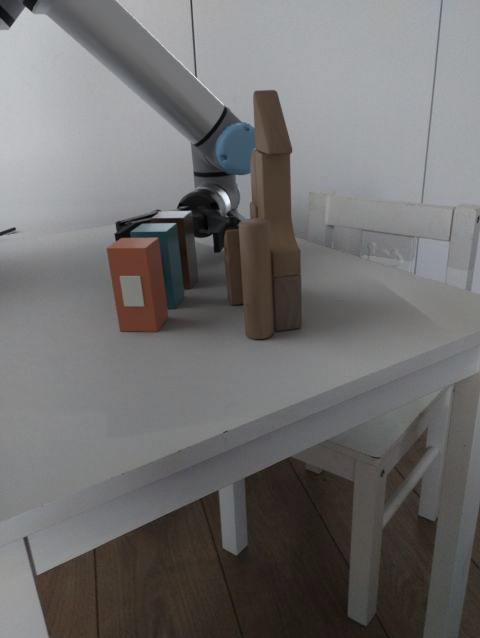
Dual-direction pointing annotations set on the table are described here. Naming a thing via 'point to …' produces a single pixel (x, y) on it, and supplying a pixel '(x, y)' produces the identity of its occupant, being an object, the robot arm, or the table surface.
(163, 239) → the teal letter block
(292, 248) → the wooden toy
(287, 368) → the table surface
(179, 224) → the walnut letter block
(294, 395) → the table surface
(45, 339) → the table surface
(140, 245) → the terracotta letter block
